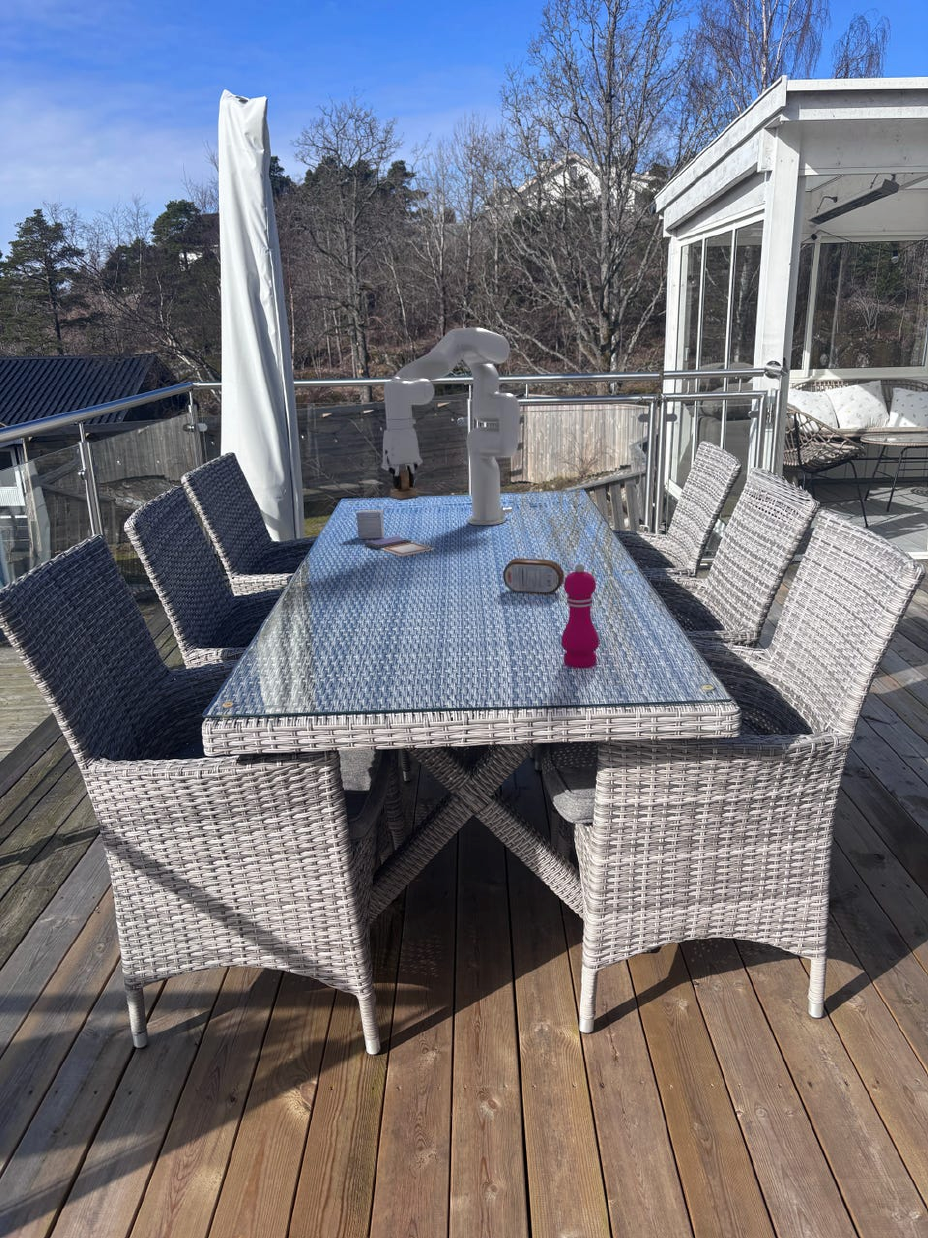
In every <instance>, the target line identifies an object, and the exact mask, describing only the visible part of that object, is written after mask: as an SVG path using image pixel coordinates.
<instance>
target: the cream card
mask: <svg viewBox="0 0 928 1238" xmlns="http://www.w3.org/2000/svg"><path fill="white" fill-rule="evenodd" d="M434 549H435V548H434V547H432V546H431V547H430V546H428V545H425V544H422V543H418V542H416V541H411V543H406V544H401V545H395V546H390V547H385V548H381V549H380V550H381V551H384V552H386V553H390V554H393V555H395V556H398V557H400V558H401V557H405V556H410V555H417V554H421V553H425V551H426V552H431V551H435V550H434ZM430 550H431V551H430ZM420 552H421V553H420Z"/></svg>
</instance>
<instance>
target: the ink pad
mask: <svg viewBox="0 0 928 1238" xmlns="http://www.w3.org/2000/svg"><path fill="white" fill-rule="evenodd" d="M411 542H412V540H411V539H408V538H405V537H401V536H398V535H396V536H391V537H385V538H384V537H383V538H378V539H375V540H368V541H365V542H364V546H366V547H368V548H371V549H374V550H377V551H378V550H381V548H385V547H390V546H395V545H401V544H406V543H411Z"/></svg>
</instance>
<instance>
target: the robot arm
mask: <svg viewBox="0 0 928 1238" xmlns="http://www.w3.org/2000/svg"><path fill="white" fill-rule="evenodd" d="M510 354H511V346H510V343H509V341H508V339H507V338H506V337H505V336H503V335H501V334H498V333H497V332H494V331H490V330H487V329H484V328H481V327H459V328H452V329H451V330H449V331H448V332H447V333H446V334H445V335H444V336H443V337H442V338H441V340H439V342H438V343H437V344H436V345H435V346H434V347H433V348H432V349H431V351H430V352H428V353H427V354H424V355H423V356H420V357H419V358H417V359H415V360H413V361H411V362H409V363H407V364H406V365H404V366H402V368H401V369H400V370H398V372H397V373H396V374H395V375H393V377H392V378H391V380H390V381H387V382H385V384H383V385H384V386H383V393H384V404H385V405H384V406H385V418H386V419H385V420H386V421H385V422H386V430H384V431H383V439H382V463H381V464H380V465H381V466H380V467H381V469H384V470H386V471H387V472H389V474H390V475H391V476H392V484H393V488H394V489H399V490H400V489H401V476H399V470H400V466H403V465H405V470H408V471H409V486H410V488H413V489H414V483H415V482H414V479H415V478H414V474H415V473H416V471H417V469H418V467H419V466H420V465H422V464H423V462H424V461H423V458H422V457H421V455H420V449H419V441H418V436H417V433H416V430H415V428H413V427H414V425H415V424H416V423H417V421H416V419H415V418H413V409H412V405H413V406H414V405H415V406H416V405H417V406H419V405H426V404H429V403H430V402H431V401H432V400H433V399H434V396H435V387H434V385H433V382H432V381H436V380H440V379H441V378H445V377H446V376H448V375H449V374H450V373H451V372H452V371H453V370H454V369H455V367H456V366H458V364H459V363H460V362H461V361H462V360H463V362H465V364H466V365H467V367H468V368H469V371H470V372H471V375H472V416H473V418H474V420H475V421H477V422H480V423H485V424H486V423H489V424H490V423H491V424H492V423H493V424H499V425H498V427H494V426H478V427H474V428H471V430H469V432H468V434H467V435H466V448H467V452H468V457H469V463H470V477H471V478H470V481H471V505H472V516H470V517H469V518H468V521H467V522H468V523H469V524H471V525H473V526H494V525H495V526H496V525H499V524H503V523H505V522H506V517H505V514H511V513H512V514H513V507H512V506H510V507H502V506H501V481H500V479H501V478H500V477H501V476H500V475H501V473H500V466H499V463H498V462H497V460H496V458H511V457H513V456H514V455H515V454H516V452H517V450H518V448H519V441H520V440H519V439H520V423H521V422H520V418H521V408H520V403H519V400H518V398H517V397H516V396H515V395H514V394H512V393H509V392H500V376H499V375H500V374H499V373H498V370H497V368H496V367H495V366H494V365H500V364H503V363H505V362H506V361H508V359H509V356H510Z"/></svg>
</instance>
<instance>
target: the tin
mask: <svg viewBox="0 0 928 1238" xmlns="http://www.w3.org/2000/svg"><path fill="white" fill-rule="evenodd" d="M502 578H503V583H504V584H505V586H506V587H507V588H508V589H509V590H510V591H512V592H515V593H521V594H522V593H523V594H534V595H535V594H537V595H551V594H554V593H555V592H556V591H558V590H559V589H560V588H561V587H562V586H563V584H564V581H565V574H564V572H563V569H562V567H561V566H560V564H558V563H557V562H555V561H554V560H550V559H542V558H541V559H536V558H520V557H519V558H514V559H512V560H511V561H509V562H508V563H507V564H506V566H505V568H504V569H503V572H502Z"/></svg>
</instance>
